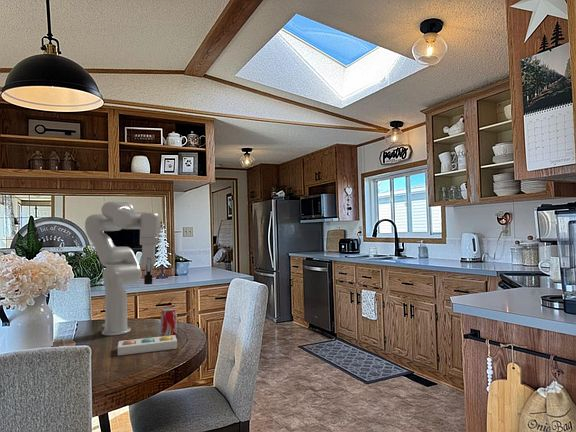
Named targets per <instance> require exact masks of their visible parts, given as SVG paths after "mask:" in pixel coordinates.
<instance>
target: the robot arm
mask: <svg viewBox="0 0 576 432" xmlns="http://www.w3.org/2000/svg"><path fill="white" fill-rule="evenodd" d="M100 210H101V213H97V214H91V215H89V216H88V217H87V218H86V219H85V221H84V230H85V233H86V235H87V238H89V240H90V241H91V243H92V245H93V247H94V250H95V252H96V254H97V257H98V260H99V262H100V264H101V265H102V266H103V267H106V268H105V269H103V272H102V281H103V286H104V295H105V297H104V301H105V302H104V307H105V308H104V309H105V311H104V315H105V317H104V319H105V321H104V323H102V324H101V327H102V328H104V329H103V330H101V335H103V336H119V335H124V334H127V333H130V332H131V330H132V328H131V327H128V293H127V291H126V289H125V288H124V287H123V285H130V284H136V283H138V282H139V281H141V279H142V277H143V276H142V275H143V274H142V273H143V272H142V269H144V277H143V278H144V280H143V281H144V282H143V283H144V285H153V268H155V262H156V261H155V259H156V258H155V257H156V246H159V229H160V228H159V224H160V223H159V222H160V221H159V219H160V218H159V214H158V213H157V212H146V211H145V212H143V211H141V212H140V211H135V210H134V207H133V204H131V203H130V202H125V201H107V202H105V203H104V204H103V205H102V206H101V208H100ZM121 230H139V245H140V246H142V247H141V266H140V264H139V260H138V259H137V256H136V255H135V252H134V251H133V249H132V248H131V247H129V246H116V245H115V244H114V242H113V240H112V238H111V237H110V236H109V235H108V234H107V233H105V232H115V231H116V232H117V231H121Z"/></svg>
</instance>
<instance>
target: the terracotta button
mask: <svg viewBox="0 0 576 432" xmlns="http://www.w3.org/2000/svg"><path fill="white" fill-rule="evenodd" d="M126 340H127V339H126ZM123 341H124V340H123ZM130 344H135V341H134V340H133V339H128V340H127V341H124V345H130Z"/></svg>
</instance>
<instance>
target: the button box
mask: <svg viewBox="0 0 576 432" xmlns="http://www.w3.org/2000/svg"><path fill="white" fill-rule="evenodd" d="M161 337H164V336H162V335H161V336H153V337H151V338H153V342H148V343H143V339H146V338H147V337H144V338H136V339H132V340H134V341H135V344H130V345H124V341H127V339H126V340H119V341H118V344H117V356H126V355H133V354H142V353H143V354H144V353H151V352H159V351H167V350H168V351H169V350H176V349H178V339H177V336H176V335H171V340H166V341H161Z"/></svg>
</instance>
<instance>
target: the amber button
mask: <svg viewBox="0 0 576 432" xmlns="http://www.w3.org/2000/svg"><path fill="white" fill-rule="evenodd" d="M160 337H161V336H160ZM166 340H171V336H164V337H161V341H166Z"/></svg>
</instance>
